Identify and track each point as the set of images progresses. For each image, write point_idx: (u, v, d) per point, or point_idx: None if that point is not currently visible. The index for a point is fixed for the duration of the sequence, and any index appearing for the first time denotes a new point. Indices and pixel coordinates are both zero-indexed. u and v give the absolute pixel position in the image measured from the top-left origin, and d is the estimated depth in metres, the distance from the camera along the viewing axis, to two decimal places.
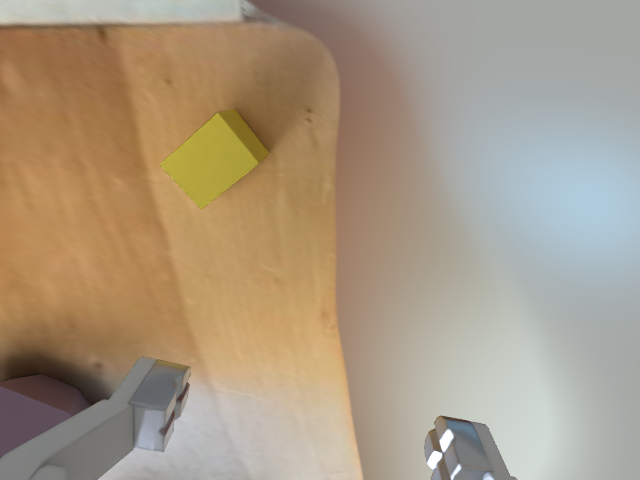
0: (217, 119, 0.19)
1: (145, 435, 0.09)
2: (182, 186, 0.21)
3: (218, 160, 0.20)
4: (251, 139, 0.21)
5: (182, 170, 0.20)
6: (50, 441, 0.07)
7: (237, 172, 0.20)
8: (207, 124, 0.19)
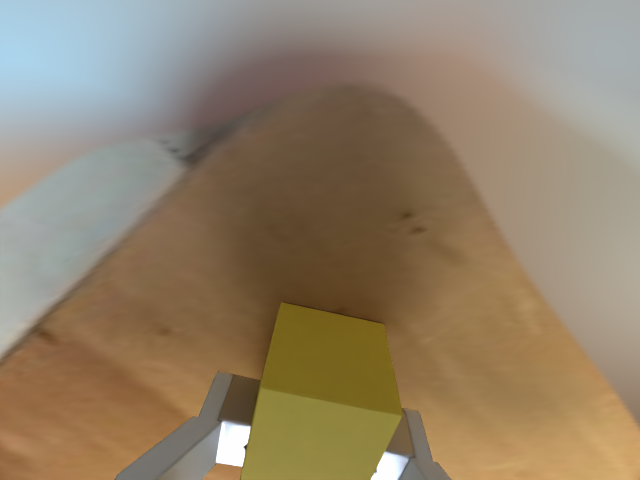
0: (268, 397, 0.08)
1: (229, 450, 0.09)
2: None
3: (323, 451, 0.09)
4: (346, 348, 0.10)
5: None
6: (156, 460, 0.07)
7: (370, 448, 0.09)
8: (258, 414, 0.08)
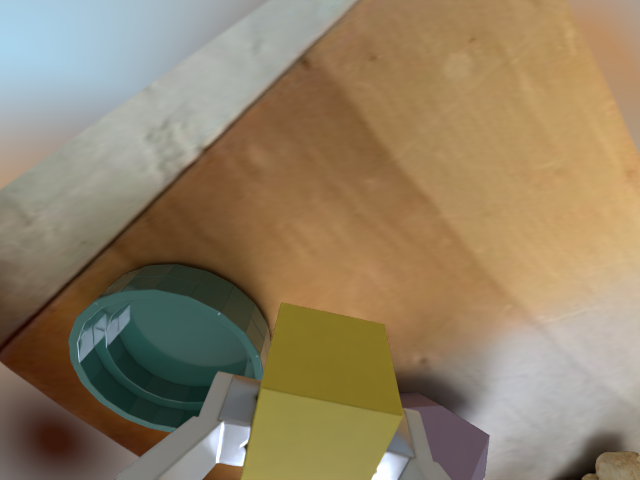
0: (269, 397, 0.08)
1: (229, 450, 0.09)
2: None
3: (323, 451, 0.09)
4: (346, 348, 0.10)
5: None
6: (156, 460, 0.07)
7: (371, 449, 0.09)
8: (259, 414, 0.08)
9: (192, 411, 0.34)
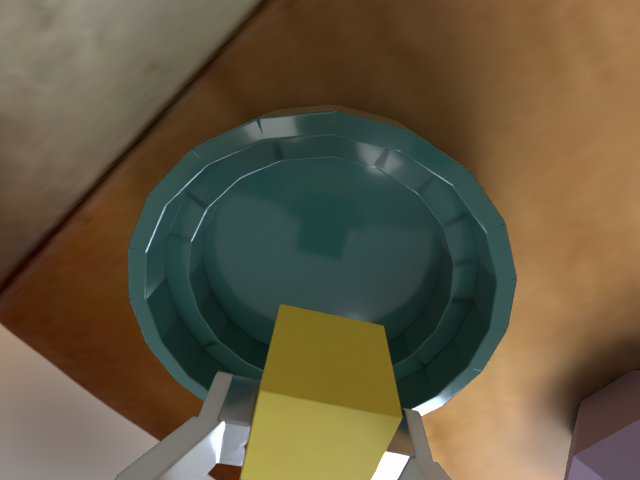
0: (268, 399, 0.08)
1: (229, 450, 0.09)
2: None
3: (323, 453, 0.09)
4: (345, 350, 0.10)
5: None
6: (156, 460, 0.07)
7: (370, 451, 0.09)
8: (258, 416, 0.08)
9: None
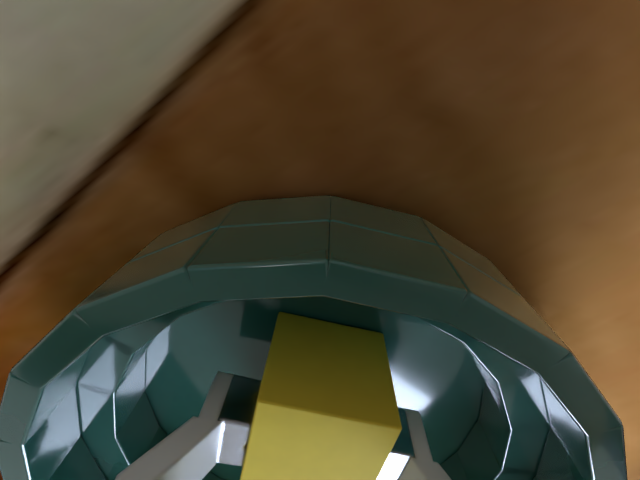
0: (265, 411, 0.08)
1: (229, 450, 0.09)
2: None
3: (321, 464, 0.09)
4: (344, 359, 0.10)
5: None
6: (156, 460, 0.07)
7: (369, 462, 0.09)
8: (255, 428, 0.08)
9: None
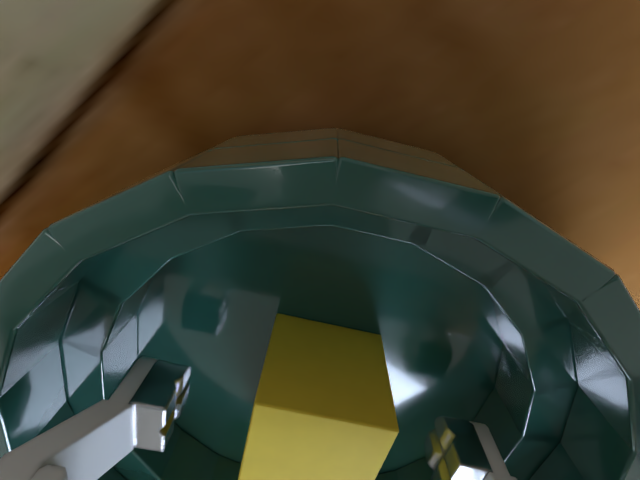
0: (263, 413, 0.08)
1: (145, 435, 0.09)
2: None
3: (318, 466, 0.09)
4: (342, 361, 0.10)
5: None
6: (50, 441, 0.07)
7: (367, 463, 0.09)
8: (253, 430, 0.08)
9: None
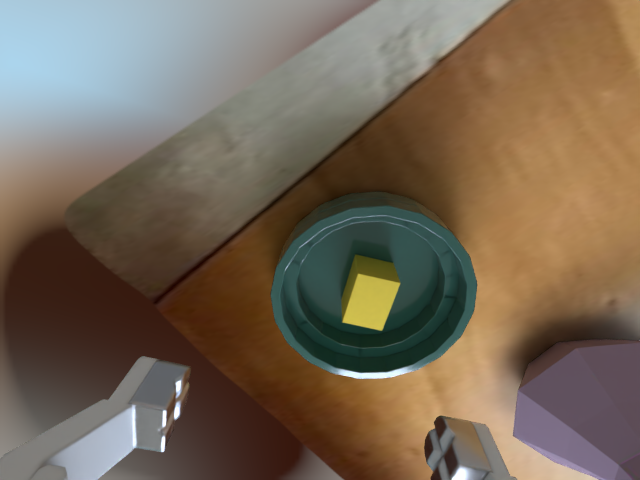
0: (360, 277, 0.27)
1: (145, 435, 0.09)
2: (362, 325, 0.29)
3: (375, 298, 0.28)
4: (381, 267, 0.29)
5: (357, 316, 0.29)
6: (50, 441, 0.07)
7: (390, 296, 0.28)
8: (356, 283, 0.27)
9: (368, 357, 0.32)
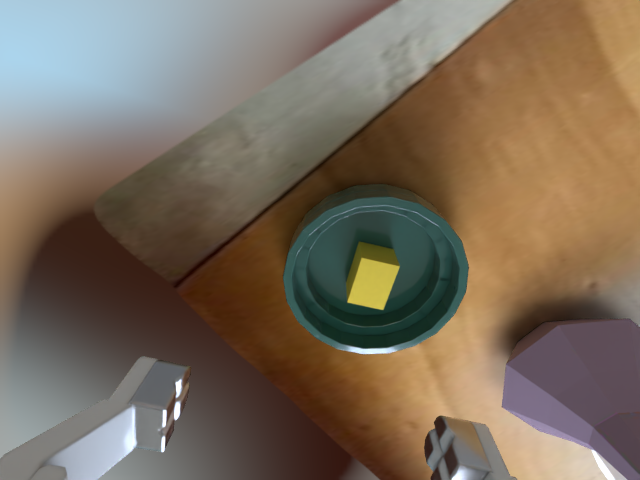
0: (363, 261, 0.30)
1: (145, 435, 0.09)
2: (365, 305, 0.32)
3: (377, 280, 0.31)
4: (382, 253, 0.32)
5: (360, 297, 0.32)
6: (50, 441, 0.07)
7: (390, 278, 0.31)
8: (359, 266, 0.30)
9: (370, 335, 0.35)
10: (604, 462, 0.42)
